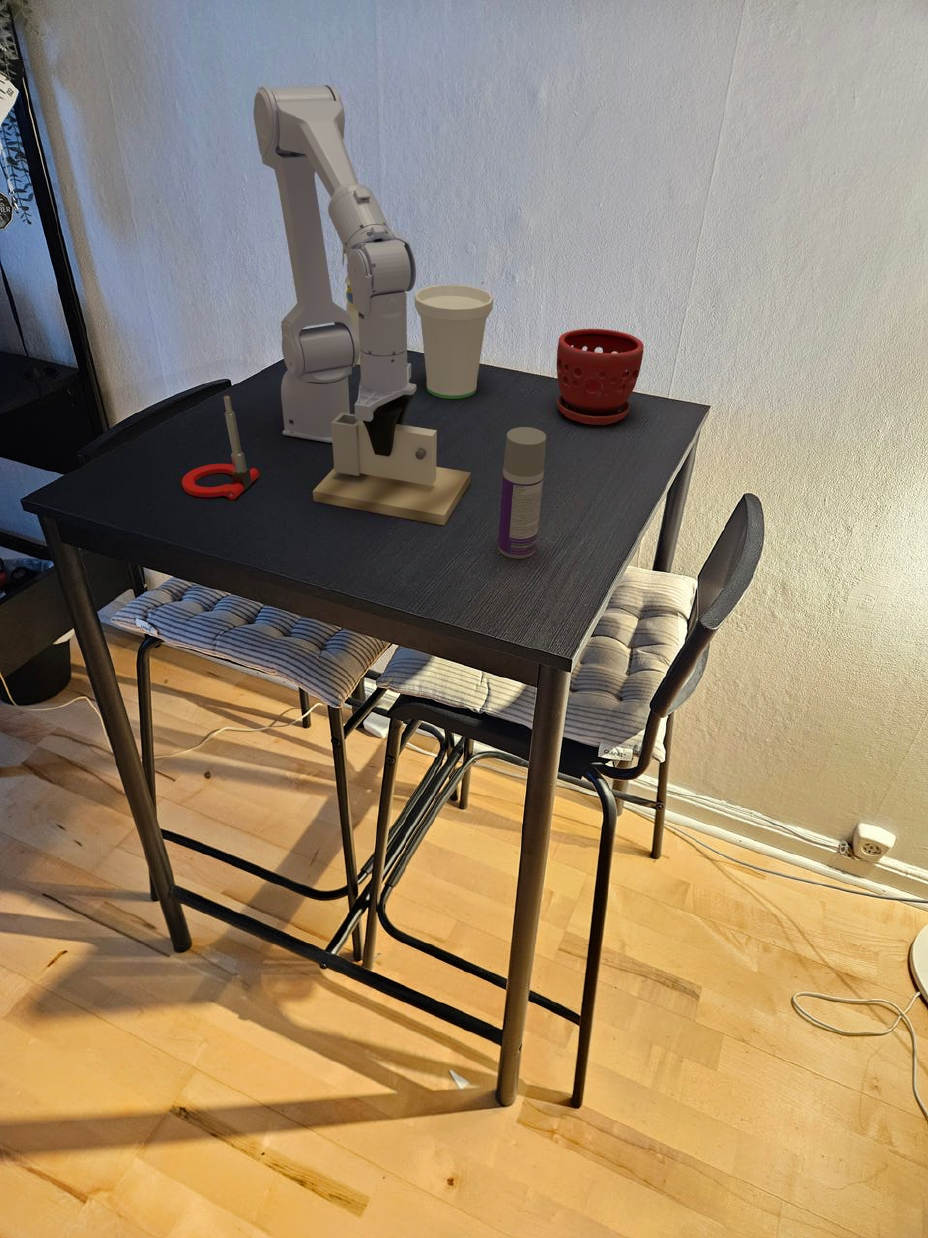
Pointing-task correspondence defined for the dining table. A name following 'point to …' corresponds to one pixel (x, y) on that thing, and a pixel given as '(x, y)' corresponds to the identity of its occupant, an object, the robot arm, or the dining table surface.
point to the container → (521, 492)
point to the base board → (396, 494)
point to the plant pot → (597, 374)
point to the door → (405, 463)
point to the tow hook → (224, 467)
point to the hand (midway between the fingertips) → (386, 450)
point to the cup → (452, 336)
